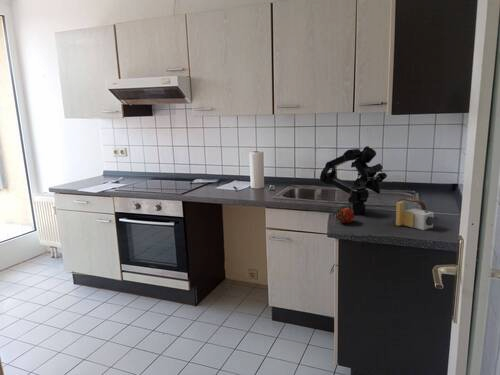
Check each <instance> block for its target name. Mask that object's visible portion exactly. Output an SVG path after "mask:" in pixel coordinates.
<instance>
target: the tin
mask: <svg viewBox="0 0 500 375" xmlns="http://www.w3.org/2000/svg"><path fill="white" fill-rule="evenodd" d="M400 201H401V202H404V212H405V211H406V210H411V209H420V210H424V211H427V208H426V207H427V206H426V204H425V203H424V202H423V201H422V200H419V199H415V198H410V197H402V198H400V199H399V200H398V201H397V202H400Z"/></svg>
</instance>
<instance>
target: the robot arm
mask: <svg viewBox="0 0 500 375" xmlns="http://www.w3.org/2000/svg"><path fill="white" fill-rule="evenodd" d="M376 156H377V151H376V150H374V149H373V148H371V147H370V146H369V145H367V146H365V147H364V148H363V150H360V149H359V148H352V149H348V150H345V151H344V153H343V154H342V155H340V156H338V157H336V158H334V159H332V160H329V161H326V163H325V165H324V167H323V169H322V170H321V173H320V175H319V180H320V183H322V184H325V185H332V186H333V187H336V188H337V189H339V190H341V191H343V192H345V193H346V194H348V195H349V197H348V199H347V200H348V203H349V204H350V209H352V210H353V211H354V215H355V216H359V215H366V205H365V203H366V202H367V201H368V199H369V196H370V193H369V190H371V191H373V192H374V193H376V194H381V189H380V185H379V184H381V183H382V182H383V181H384V180H385V179H386V178H387V177H388V174H386V172H382V170H383V169H384V168H383V165H382V164H381V163H377V164H375V165H371V166H369V165H368V164H369V163H370V162H371V161H372V160H373V159H374V158H375V157H376ZM351 161H352V162H351ZM347 162H351V165H350V167H351V168H355V169H356V170H357V172H358V173H357V175H358V177H357V178H356V179H355V180H354V181H353V185H351V184H349V183H348V182H346V181H344V180H342V179H341V178H338V176H337V169H336V168H337V167H338V166H341V165H343V164H346V163H347ZM330 170H331V171H330ZM379 172H380V173H379ZM362 183H363V184H364V186H362V185H361V184H362ZM368 189H369V190H368Z"/></svg>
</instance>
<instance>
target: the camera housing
mask: <svg viewBox="0 0 500 375" xmlns="http://www.w3.org/2000/svg"><path fill="white" fill-rule="evenodd" d="M405 212H409V213H413V214H414V227H413V229H414V228H415V229H418V230H422V231H425V230H428V229H433V228H434V221H435V219H434V216H435V213H434V212H432V211H429V210H426V211H424V210H420V209H411V210H406V211H405Z"/></svg>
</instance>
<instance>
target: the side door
mask: <svg viewBox="0 0 500 375" xmlns="http://www.w3.org/2000/svg"><path fill="white" fill-rule="evenodd" d="M395 203H396V206H395V207H396V208H395V209H396V211H395V226H397V227H399V226H405V227H409V228H414V214H413V213H409V212H404V202H401V201H400V202H398V201H397V202H395Z"/></svg>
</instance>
